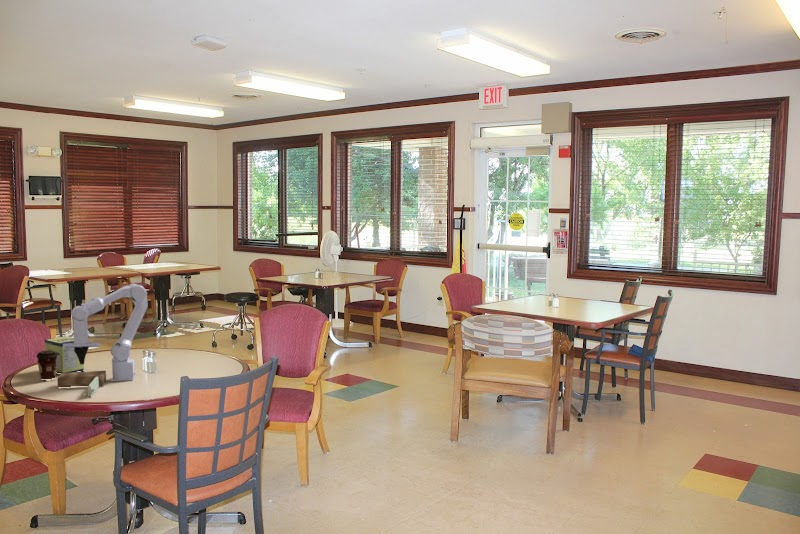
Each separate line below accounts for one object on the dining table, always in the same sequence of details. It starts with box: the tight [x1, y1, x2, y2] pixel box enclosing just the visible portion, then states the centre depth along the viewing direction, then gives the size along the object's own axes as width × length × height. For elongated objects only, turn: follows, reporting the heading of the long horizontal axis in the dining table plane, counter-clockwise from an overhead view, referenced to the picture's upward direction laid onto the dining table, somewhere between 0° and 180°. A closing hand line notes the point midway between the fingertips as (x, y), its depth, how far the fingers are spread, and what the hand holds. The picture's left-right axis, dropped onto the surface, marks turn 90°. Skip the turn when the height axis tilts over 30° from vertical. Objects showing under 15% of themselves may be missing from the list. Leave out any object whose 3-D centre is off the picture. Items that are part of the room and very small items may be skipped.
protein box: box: [44, 335, 85, 374], centre depth 321 cm, size 10×16×16 cm
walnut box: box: [56, 370, 107, 388], centre depth 297 cm, size 18×9×5 cm, turn 105°
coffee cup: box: [36, 350, 58, 380], centre depth 306 cm, size 9×8×13 cm
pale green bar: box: [87, 376, 100, 397], centre depth 286 cm, size 16×2×4 cm, turn 14°
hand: (82, 363), depth 297 cm, fingers closed
